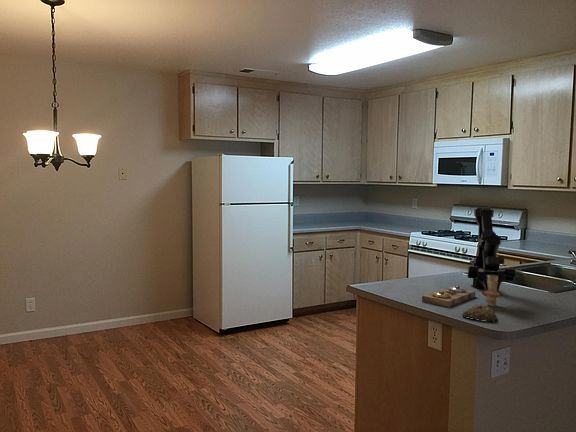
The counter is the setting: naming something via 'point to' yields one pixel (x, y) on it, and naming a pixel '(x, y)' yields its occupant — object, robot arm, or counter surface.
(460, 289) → the gear
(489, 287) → the idler gear
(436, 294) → the gear
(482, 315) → the bread roll
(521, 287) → the counter surface
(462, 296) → the gear board
